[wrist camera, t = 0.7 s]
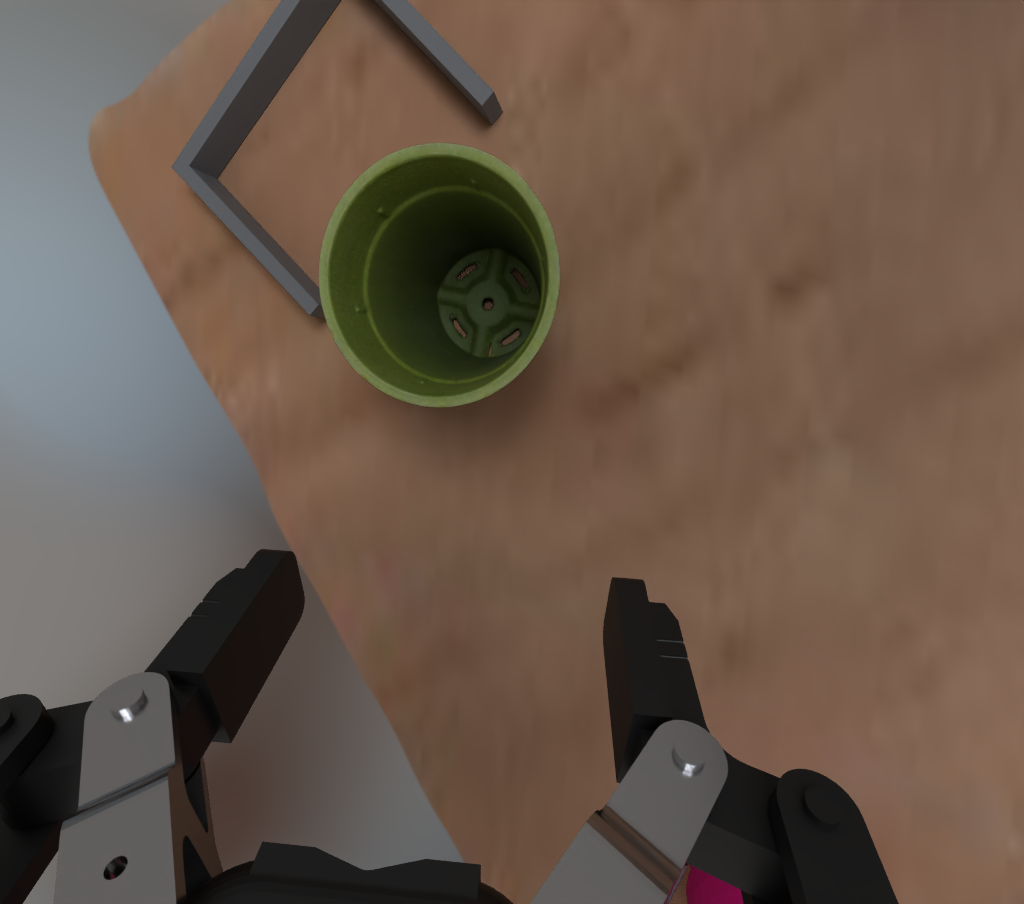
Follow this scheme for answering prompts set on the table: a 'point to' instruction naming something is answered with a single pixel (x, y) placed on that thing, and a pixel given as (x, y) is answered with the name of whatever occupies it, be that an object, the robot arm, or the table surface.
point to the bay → (253, 90)
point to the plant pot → (438, 274)
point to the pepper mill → (710, 889)
